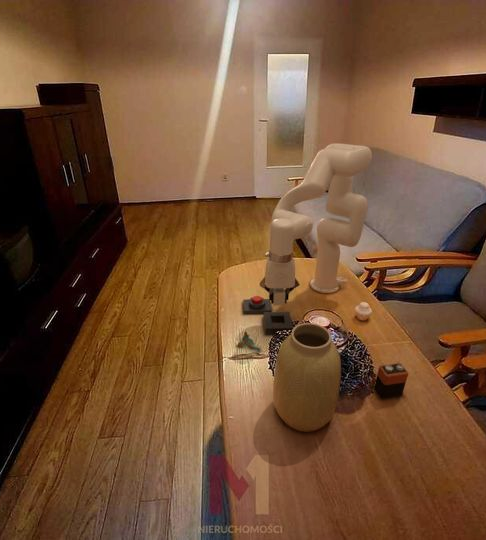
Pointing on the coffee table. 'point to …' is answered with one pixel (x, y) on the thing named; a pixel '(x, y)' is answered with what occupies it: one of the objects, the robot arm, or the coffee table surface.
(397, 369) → the battery
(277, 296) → the charger
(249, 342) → the dragon figurine
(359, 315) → the cream rounded piece
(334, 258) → the robot arm
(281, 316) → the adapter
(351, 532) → the coffee table surface
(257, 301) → the power button
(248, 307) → the switch block
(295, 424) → the vase
